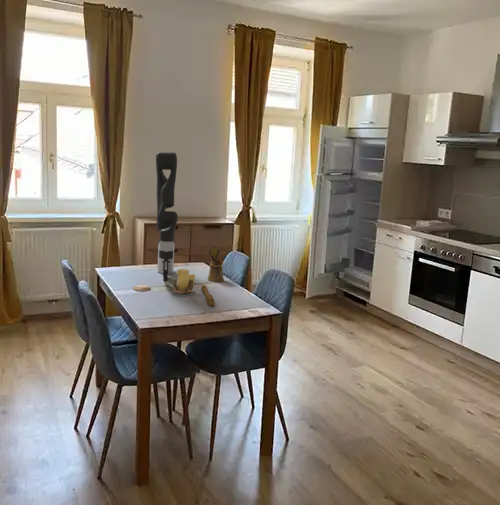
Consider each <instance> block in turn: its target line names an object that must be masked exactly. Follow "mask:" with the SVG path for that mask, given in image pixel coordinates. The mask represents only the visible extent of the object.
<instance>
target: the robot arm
mask: <svg viewBox="0 0 500 505" xmlns="http://www.w3.org/2000/svg"><path fill="white" fill-rule="evenodd" d="M155 167H156V168H155V170H156V203H157V204H156V208H157V209H156V230H157V231H158V232H159V238H158V248H157V250H158V252H157V272H158V273H160V274H162V275H163V277H162V278H163V279H162V280H163V281H162V282H167V279H168V276H169V274H171V273H174V266H175V240H176V239H175V237H176V236H175V234H176V225H177V223H178V219H179V215H178V213H177V212H176V211H172V210H171V211H170V210H168V211H167V209H171V208H173V207H174V206H175V189H176V188H175V187H176V180H177V168H178V156H177V153H176V152H171V151H170V152H169V151H159V152H157V153H156V155H155ZM164 170H165V171H166V170H169V171H170V173H169V176H168V178H167V177H166V175H165V173H164Z"/></svg>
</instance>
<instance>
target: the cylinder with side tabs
mask: <svg viewBox="0 0 500 505" xmlns="http://www.w3.org/2000/svg"><path fill="white" fill-rule="evenodd" d="M175 272H176V274H177V287H178V290H181V291H186V287H188V284H189V281H190V280H193V285H194V284H195V281H196V280H195V279H196V274H195V273H191V274H190V270H189V269H186V268H180V269H177V271H175Z"/></svg>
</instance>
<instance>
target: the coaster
mask: <svg viewBox="0 0 500 505" xmlns="http://www.w3.org/2000/svg"><path fill="white" fill-rule="evenodd" d="M151 288H152V287H150V286H149V285H146V284H145V285H143V284H141V285H135V286H133V287H132V290H133V291H137V292H147V291H150V290H151Z"/></svg>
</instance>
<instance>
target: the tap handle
mask: <svg viewBox="0 0 500 505" xmlns="http://www.w3.org/2000/svg"><path fill="white" fill-rule="evenodd" d="M200 289H201V291H202V293H203V295H204V298H205V299H204V300H205V303H206V304H207V305H208V306H209V307H210V308H211V307H212V308H213V307H214V306H215V298H214V297H213V294H210V292H209V289H208V287H207V286H206V285H201V287H200Z"/></svg>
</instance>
